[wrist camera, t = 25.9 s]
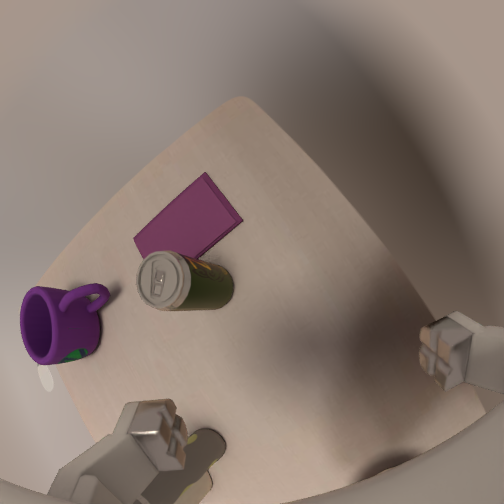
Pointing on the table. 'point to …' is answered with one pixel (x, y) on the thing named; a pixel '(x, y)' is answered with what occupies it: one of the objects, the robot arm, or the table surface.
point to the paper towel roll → (196, 491)
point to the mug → (61, 323)
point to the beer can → (182, 283)
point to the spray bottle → (185, 469)
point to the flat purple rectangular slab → (190, 222)
